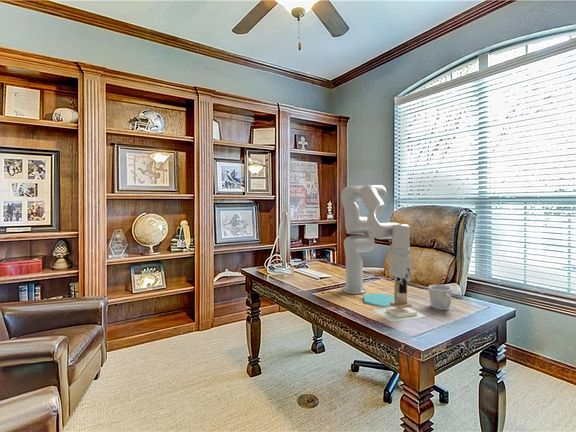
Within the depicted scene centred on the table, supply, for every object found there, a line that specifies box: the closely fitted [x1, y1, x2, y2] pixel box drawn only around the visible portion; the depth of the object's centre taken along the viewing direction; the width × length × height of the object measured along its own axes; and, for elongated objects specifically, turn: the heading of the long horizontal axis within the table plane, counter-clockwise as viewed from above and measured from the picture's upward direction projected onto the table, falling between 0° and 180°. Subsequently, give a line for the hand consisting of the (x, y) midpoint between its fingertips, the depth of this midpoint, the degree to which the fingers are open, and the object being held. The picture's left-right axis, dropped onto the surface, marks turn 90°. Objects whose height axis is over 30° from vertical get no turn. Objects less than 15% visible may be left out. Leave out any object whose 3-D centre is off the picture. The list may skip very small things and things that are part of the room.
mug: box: [428, 284, 453, 311], centre depth 152 cm, size 10×15×10 cm
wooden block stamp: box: [390, 280, 412, 309], centre depth 147 cm, size 6×7×11 cm
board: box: [372, 307, 427, 322], centre depth 147 cm, size 15×18×1 cm
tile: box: [385, 306, 418, 318], centre depth 147 cm, size 2×10×9 cm
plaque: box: [362, 292, 394, 308], centre depth 166 cm, size 18×2×20 cm
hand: (400, 291), depth 147 cm, fingers closed on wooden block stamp
